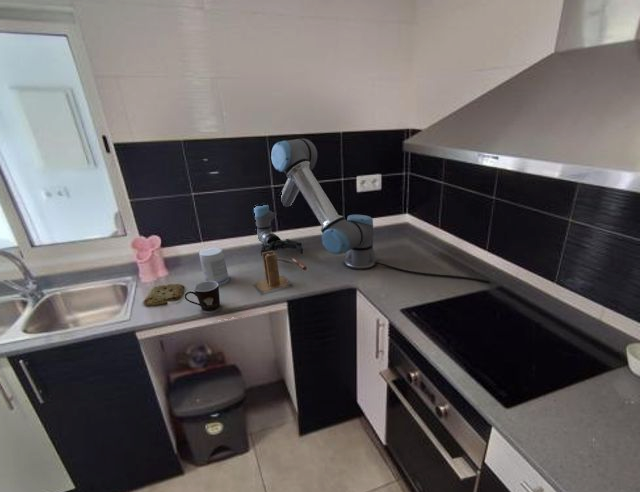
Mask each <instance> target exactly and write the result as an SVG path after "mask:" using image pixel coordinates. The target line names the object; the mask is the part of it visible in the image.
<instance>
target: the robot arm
mask: <svg viewBox="0 0 640 492" xmlns="http://www.w3.org/2000/svg"><path fill="white" fill-rule="evenodd" d="M270 158H271V163H272V165H273V167H274V169H275V170H276V171H277V172H280V173H283V172H284V174H285V176H286V177H287V179H286V181H285V184H284V186H283V187H282V190H281V192H282V195H281V202H282V204H283V206H285V207H289V206H291V205H292V206H293V204H294V202H295V200H296V198H297V196H298V195H299V192H300V193H301V195H302V197H303V198H304V199H305V202H306V203H307V205H308V206H309V208H310V209H311V211H312V213H313V215H314V216H315V217H316V219H317V220H318V222H319V223H320V225H321V229H320V232H321V233H322V234H321V243H322V245H323V247H324V248H325V250H326V251H328V252H329V253H330V254H332V255H338V256H339V255H342V254H345V257H344V265H345V266H346V267H347V268H349V269H352V270H368V269H372V268H374V267H375V266H376V265H380V266H383V267H386V268H389V269H393V270H397V271H401V272H405V273H409V274H415V275H416V274H417V275H424V276H432V277H443V278H444V277H445V278H455V279H465V280H473V281H477V282H485V283H490V280H488V279H482V278H477V277H472V276H471V277H470V276H461V275H452V274H439V273H431V272H430V273H429V272H421V271H413V270H409V269H405V268H404V269H403V268H399V267H396V266H393V265H389V264H386V263H382V262H378V261H377V257H376V253H375V251H374V219H373V217H371V216H369V215H364V214H350V215H348V216H347V219H346V218H345V216H343V215H339V214H338V212H337V210H336V209H335V207H334V205H333V204H332V202H331V201H330V199H329V197H328V196H327V194H326V193H325V191H324V190H323V188H322V186H321V185H320V183H319V181H318V180H317V178H316V177H315V176H314V173H313V172H312V171H313V170H314V168H315V166H316V163H317V160H318V150H317V147H316V145H315V144H314V143H313V142H312V141H311V140H310V139H307V138H297V139H289V140H282V141H277V142H276V143H275V144H273V146H272V149H271V155H270ZM292 203H293V204H292ZM255 206H256V205H255ZM254 213H255V216H254V221H255V220H256V222H255V227H256V226H257V235H258V239H259V240H258V239H257V240H258V241H259V242H260V243H262V244H261V249H260V256H261V257H263V256H262V253H263V252H268V251H273V252H274V251H277V250H281V249H284V250H285V249H290V250H291V249H292V250H295V251H296V252H297V253H299V254H300V255H303V254H304V252H303V248H302V247H303V245H302V242H300V241H295V240H292V239H289V238H286V239H285V240H282V239H281V238H280V236H279V235H277V234H276V233H274V232H273V231H272V222H273V221H272V220H273V219H274V218H275V216H276V215H275V213H274V212H272V211H270V210H269V205H268V204H267V205H263V206H256V207H255V208H254V207H253V214H254ZM271 221H272V222H271ZM267 228H268V229H267Z"/></svg>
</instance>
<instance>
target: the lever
mask: <svg viewBox="0 0 640 492" xmlns="http://www.w3.org/2000/svg"><path fill="white" fill-rule="evenodd" d="M267 255H272V254H266V256H267ZM265 259H266V257H265ZM291 259H292V260H290V259H285V258H280V257H277V262H282V263H286V264H291V265H294V266H295V265H296V266H297V267H299V268H300V269H301V270H303V271H306V270H307V266H306V265H305V264H304V263H302V262H301V261H299V260H298V259H297V258H296V257H293V258H291Z"/></svg>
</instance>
